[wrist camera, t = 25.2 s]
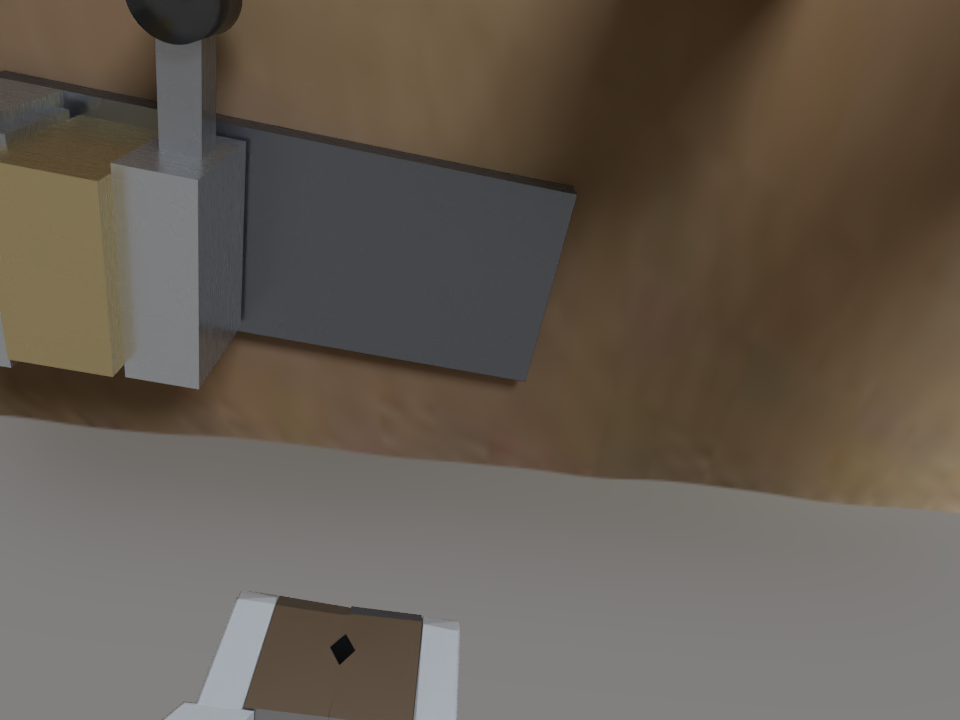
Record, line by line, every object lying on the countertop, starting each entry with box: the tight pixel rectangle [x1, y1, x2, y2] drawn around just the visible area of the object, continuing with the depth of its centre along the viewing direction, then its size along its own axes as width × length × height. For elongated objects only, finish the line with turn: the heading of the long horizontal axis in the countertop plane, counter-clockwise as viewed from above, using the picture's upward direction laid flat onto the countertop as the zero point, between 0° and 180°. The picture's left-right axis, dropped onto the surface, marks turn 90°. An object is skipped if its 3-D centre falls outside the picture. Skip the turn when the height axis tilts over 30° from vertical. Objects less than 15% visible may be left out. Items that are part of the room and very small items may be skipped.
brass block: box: [0, 115, 158, 377], centre depth 28 cm, size 4×8×7 cm, turn 169°
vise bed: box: [0, 71, 577, 382], centre depth 30 cm, size 25×10×7 cm, turn 79°
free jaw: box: [110, 0, 246, 389], centre depth 27 cm, size 3×16×6 cm, turn 169°
